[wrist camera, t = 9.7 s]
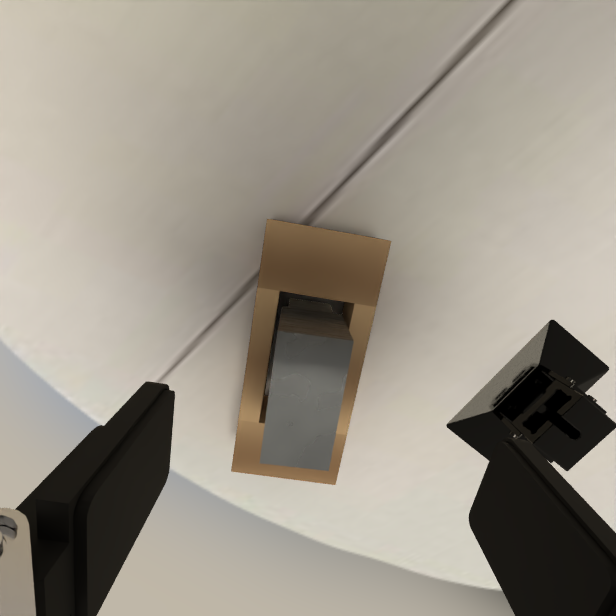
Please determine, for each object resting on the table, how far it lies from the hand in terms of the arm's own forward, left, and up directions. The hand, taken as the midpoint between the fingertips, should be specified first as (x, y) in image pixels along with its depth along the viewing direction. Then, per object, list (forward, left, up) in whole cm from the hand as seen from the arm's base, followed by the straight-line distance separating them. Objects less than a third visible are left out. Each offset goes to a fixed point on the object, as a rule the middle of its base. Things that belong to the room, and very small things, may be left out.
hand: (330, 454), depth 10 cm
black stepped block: (-14, +2, -12) cm, 19 cm away
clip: (+1, +1, -11) cm, 11 cm away
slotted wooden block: (0, +1, -11) cm, 11 cm away
